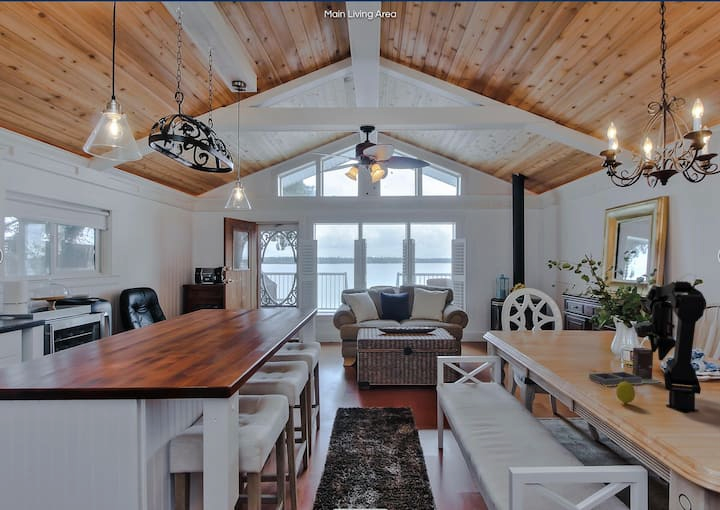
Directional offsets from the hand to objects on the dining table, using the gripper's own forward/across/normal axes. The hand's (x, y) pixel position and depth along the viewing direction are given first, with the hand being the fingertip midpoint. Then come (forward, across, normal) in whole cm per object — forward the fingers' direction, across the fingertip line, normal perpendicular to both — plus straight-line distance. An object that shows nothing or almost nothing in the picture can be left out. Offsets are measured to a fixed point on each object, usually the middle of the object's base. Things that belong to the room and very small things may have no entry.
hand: (656, 356), depth 167 cm
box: (+13, -9, -2) cm, 16 cm away
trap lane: (+13, -4, -9) cm, 17 cm away
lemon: (+10, +27, -15) cm, 33 cm away
